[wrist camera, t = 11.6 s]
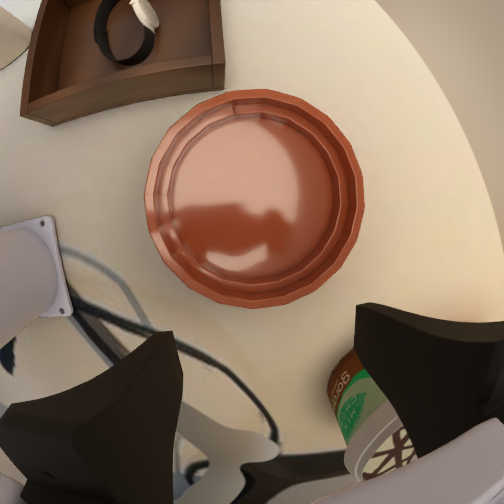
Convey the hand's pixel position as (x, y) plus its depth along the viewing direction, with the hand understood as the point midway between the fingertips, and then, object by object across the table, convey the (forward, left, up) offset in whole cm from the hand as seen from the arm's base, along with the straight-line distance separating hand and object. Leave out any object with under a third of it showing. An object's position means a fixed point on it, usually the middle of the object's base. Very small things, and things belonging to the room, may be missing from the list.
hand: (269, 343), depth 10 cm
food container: (+8, -12, -10) cm, 18 cm away
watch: (-7, +19, -10) cm, 22 cm away
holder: (-7, +19, -10) cm, 23 cm away
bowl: (+1, +5, -10) cm, 11 cm away
